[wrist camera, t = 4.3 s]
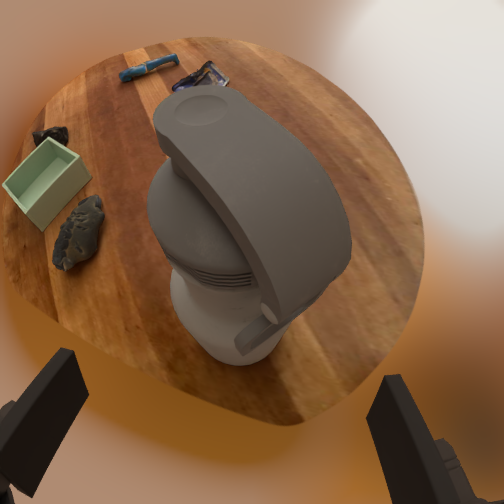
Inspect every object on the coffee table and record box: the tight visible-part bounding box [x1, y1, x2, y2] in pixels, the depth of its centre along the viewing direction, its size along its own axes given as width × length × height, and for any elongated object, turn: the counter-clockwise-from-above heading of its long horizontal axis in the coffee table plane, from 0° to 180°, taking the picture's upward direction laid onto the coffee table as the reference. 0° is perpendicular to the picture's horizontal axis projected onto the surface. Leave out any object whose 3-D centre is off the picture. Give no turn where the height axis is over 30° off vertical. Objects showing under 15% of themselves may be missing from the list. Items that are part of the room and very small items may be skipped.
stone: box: [52, 195, 105, 272], centre depth 37 cm, size 7×13×5 cm, turn 174°
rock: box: [32, 127, 68, 147], centre depth 46 cm, size 7×10×6 cm
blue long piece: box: [119, 54, 179, 82], centre depth 58 cm, size 5×4×15 cm
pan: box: [2, 137, 92, 232], centre depth 41 cm, size 13×13×6 cm
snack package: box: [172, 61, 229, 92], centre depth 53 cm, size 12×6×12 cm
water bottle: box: [147, 85, 352, 366], centre depth 22 cm, size 10×10×28 cm
